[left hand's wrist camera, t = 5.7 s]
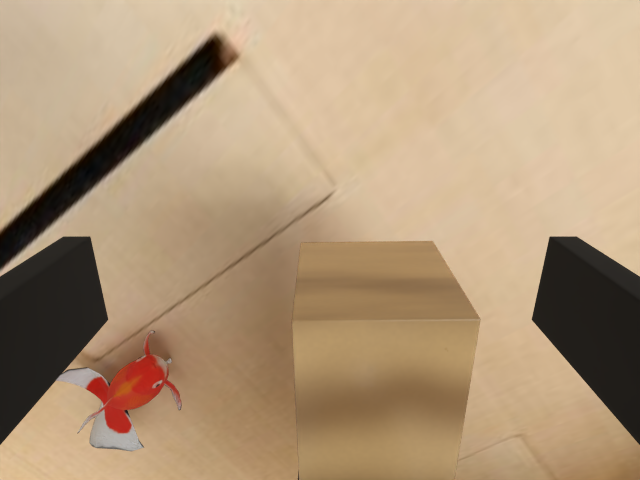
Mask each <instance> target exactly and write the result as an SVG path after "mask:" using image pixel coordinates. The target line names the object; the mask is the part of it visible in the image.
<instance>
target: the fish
mask: <svg viewBox="0 0 640 480" xmlns="http://www.w3.org/2000/svg"><path fill="white" fill-rule="evenodd" d="M154 332H155V331H150V332H149V334H148V335H147V336H146V339H145V341H144V345H143V350H144V354H145V356H142V357H140V358H138V359H137V360H135V361H134V362H131V363H129V364H128V365H126V366H125V367H124V368H122V369H121V370H120V371H119V372H118V373H117V374H116V376H115V377H114V379H113V380H112V382H111V384H110V383H109V382H108V381H107V380H106V379H105V378H104V377H103V376H102V375H100V374H99V373H97V372H95V371H93V370H91V369H89V368H78V369H70V370H67V371H65V372H64V373H62V374H61V375H60V376H59V377H58V378H57V380H56V381H64V382H68V383H72V384H75V385H78V386H81V387H83V388H85V389H87V390H89V391H90V392H92V393H93V394H95V395H96V396H97V397H98V398H99V399H101V401H102V402H101V406H100V408H99V411H97V412H95V413H93V414H91V415H90V416H89V417H88V418H87V419H86V420H85V422H84V423H83V424H82V426H81V428H80V430H81V429H82V428H83V427H84V426H85V425H86V424H87V422H88V421H90V420H91V419H92V418H94V417H96V418H95V421H94V424H93V427H92V430H91V435H90V444H91V445H92V446H93V447H95V448H107V449H120V450H126V451H134V450H137V449H140V448H143V445H142V444H141V443H140V441H139V439H138V437H137V434H136V431H135V429H134V426H133V424H132V421H131V419H130V416H129V414H128V411H127V410H129V409H135V408H138V407H140V406H142V405H144V404H147V403H148V402H149V401H151V400H152V399H153V398H154V397H155V396H156V395H157V394H158V393H159V392H160V390H161V389H162V387H163V386H164V385H166V386H167V387H169V388H170V389H171V391H172V394H173V397H174V399H175V401H176V403H177V406H178V410H181V406H182V405H181V400H180V395H179V392H178V390H177V389H176V388H175V386H174V385H173V384H172V383H170V382H169V381H168V380H167V377H168V366H167V364H170V363H171V362H172V360H171V358H170V359H168V360H167V361H164V360H163V359H162V358H161V357H159V356H157V355H154V354H150V351H149V342H148V338H149V335H150V334H153V333H154ZM80 430H79V431H78V433H79V432H80ZM78 433H77V434H78Z"/></svg>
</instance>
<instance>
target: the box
mask: <svg viewBox="0 0 640 480" xmlns="http://www.w3.org/2000/svg"><path fill="white" fill-rule="evenodd" d="M479 325H480V318H479V316H478V314H477V313H476V311H475V309H474V308H473V306H472V304H471V303H470V301H469V300H468V298H467V296H466V295H465V293H464V291H463V290H462V288H461V286H460V285H459V283H458V282H457V280H456V278H455V277H454V275H453V273H452V272H451V270H450V268H449V267H448V265H447V264H446V262H445V260H444V259H443V257H442V255H441V254H440V252H439V251H438V249H437V247H436V246H435V244H434V242H433V241H398V242H305V243H301V245H300V253H299V262H298V271H297V279H296V288H295V296H294V305H293V314H292V340H293V361H294V382H295V403H296V424H297V445H298V466H299V480H455V474H456V467H457V461H458V455H459V449H460V443H461V437H462V430H463V424H464V418H465V412H466V406H467V400H468V393H469V387H470V381H471V375H472V369H473V363H474V356H475V350H476V344H477V338H478V332H479Z"/></svg>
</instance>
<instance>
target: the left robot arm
mask: <svg viewBox="0 0 640 480" xmlns="http://www.w3.org/2000/svg"><path fill="white" fill-rule="evenodd" d="M107 320H108V317H107V312H106V307H105V303H104V298H103V293H102V289H101V284H100V280H99V275H98V270H97V266H96V261H95V256H94V252H93V247H92V242H91V238H90V237H62V238H61V239H59V240H57V241H56V242H54V243H53V244H51V245H50V246H48V247H46V248H45V249H43V250H42V251H40V252H38V253H37V254H35V255H34V256H32V257H31V258H29V259H27V260H26V261H24V262H23V263H21V264H20V265H18V266H16V267H15V268H13V269H12V270H10V271H8V272H7V273H5V274H4V275H2V276H1V277H0V444H1V443H2V442H3V441H4V440H5V439H6V438H7V436H8V435H9V434H10V433H11V432H12V431H13V429H14V428H15V427H16V426H17V425H18V424H19V422H20V421H21V420H22V419H23V418H24V417H25V416H26V414H27V413H28V412H29V411H30V410H31V409H32V407H33V406H34V405H35V404H36V403H37V402H38V400H39V399H40V398H41V397H42V396H43V395H44V393H45V392H46V391H47V390H48V389H49V388H50V387H51V385H52V384H53V383H54V382H55V381H56V380H57V378H58V377H59V376H60V375H61V374H62V373H63V371H64V370H65V369H66V368H67V367H68V366H69V365H70V363H71V362H72V361H73V360H74V359H75V358H76V356H77V355H78V354H79V353H80V352H81V351H82V349H83V348H84V347H85V346H86V345H87V344H88V342H89V341H90V340H91V339H92V338H93V337H94V336H95V334H96V333H97V332H98V331H99V330H100V329H101V327H102V326H103V325H104V324H105V323H106V322H107ZM532 320H533V322H534V323H535V324H536V325H537V326H538V327H539V329H540V330H541V331H542V332H543V333H544V334H545V336H546V337H547V338H548V339H549V340H550V341H551V342H552V344H553V345H554V346H555V347H556V348H557V349H558V351H559V352H560V353H561V354H562V355H563V356H564V358H565V359H566V360H567V361H568V362H569V363H570V365H571V366H572V367H573V368H574V369H575V370H576V371H577V373H578V374H579V375H580V376H581V377H582V378H583V380H584V381H585V382H586V383H587V384H588V385H589V387H590V388H591V389H592V390H593V391H594V392H595V393H596V395H597V396H598V397H599V398H600V399H601V400H602V402H603V403H604V404H605V405H606V406H607V407H608V409H609V410H610V411H611V412H612V413H613V414H614V416H615V417H616V418H617V419H618V420H619V421H620V422H621V424H622V425H623V426H624V427H625V428H626V429H627V431H628V432H629V433H630V434H631V435H632V436H633V438H634V439H635V440H636V441H637V442H638V443H639V444H640V277H639V276H638V275H636V274H635V273H633V272H632V271H630V270H628V269H627V268H625V267H624V266H622V265H620V264H619V263H617V262H616V261H614V260H613V259H611V258H609V257H608V256H606V255H605V254H603V253H602V252H600V251H598V250H597V249H595V248H594V247H592V246H590V245H589V244H587V243H586V242H584V241H583V240H581V239H579V238H578V237H550V238H549V242H548V247H547V252H546V256H545V261H544V266H543V270H542V275H541V280H540V284H539V289H538V293H537V298H536V303H535V307H534V312H533V317H532Z"/></svg>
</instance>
